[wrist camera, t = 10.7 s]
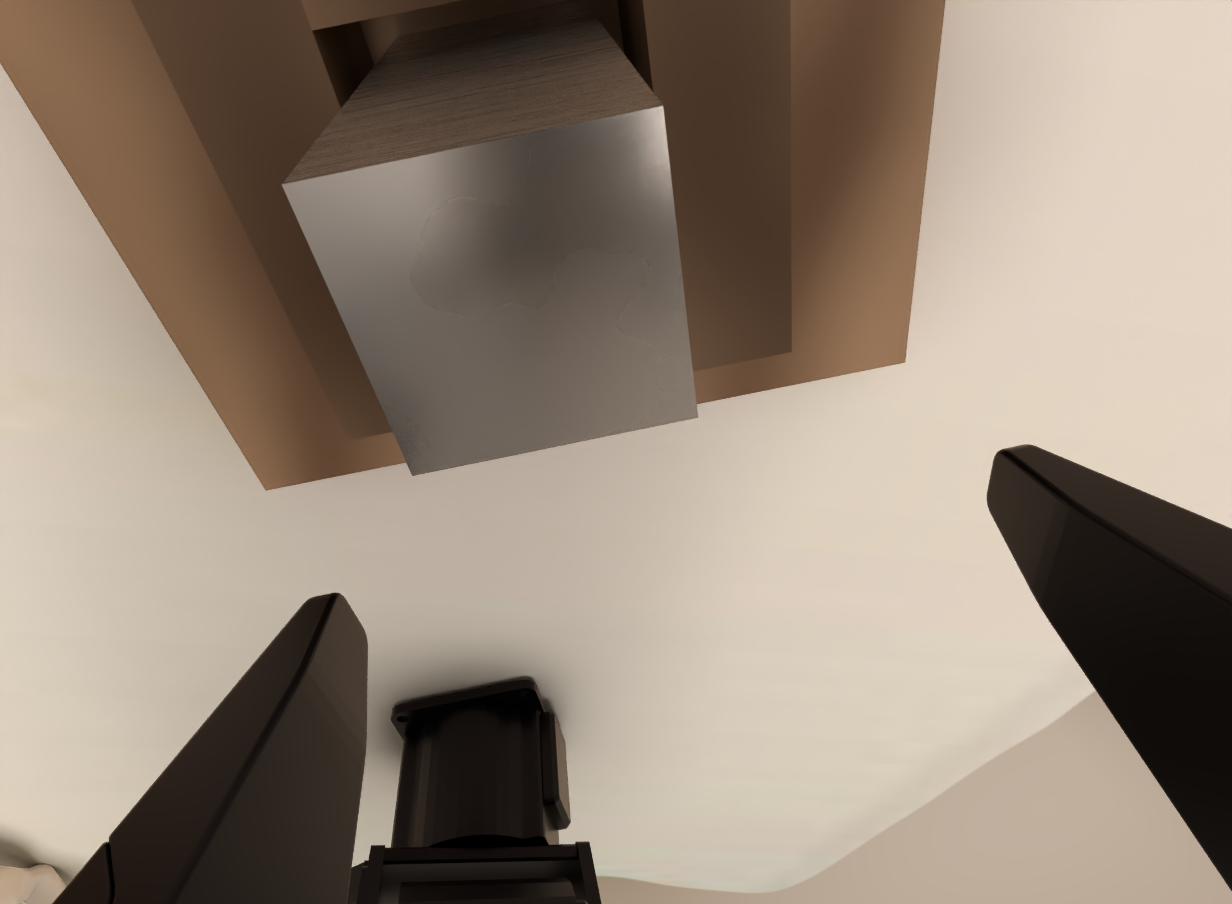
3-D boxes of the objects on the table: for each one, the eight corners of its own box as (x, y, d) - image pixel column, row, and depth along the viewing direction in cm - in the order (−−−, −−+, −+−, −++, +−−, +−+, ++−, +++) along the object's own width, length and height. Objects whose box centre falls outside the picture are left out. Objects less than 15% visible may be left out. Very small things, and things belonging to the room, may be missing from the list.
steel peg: (453, 219, 18) (411, 476, 10) (397, 36, 15) (281, 184, 7) (612, 186, 18) (698, 417, 10) (581, -2, 15) (662, 105, 7)
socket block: (278, 460, 23) (225, 589, 19) (-202, -357, 12) (-595, -497, 8) (884, 338, 23) (971, 439, 19) (967, -593, 12) (1225, -868, 8)
